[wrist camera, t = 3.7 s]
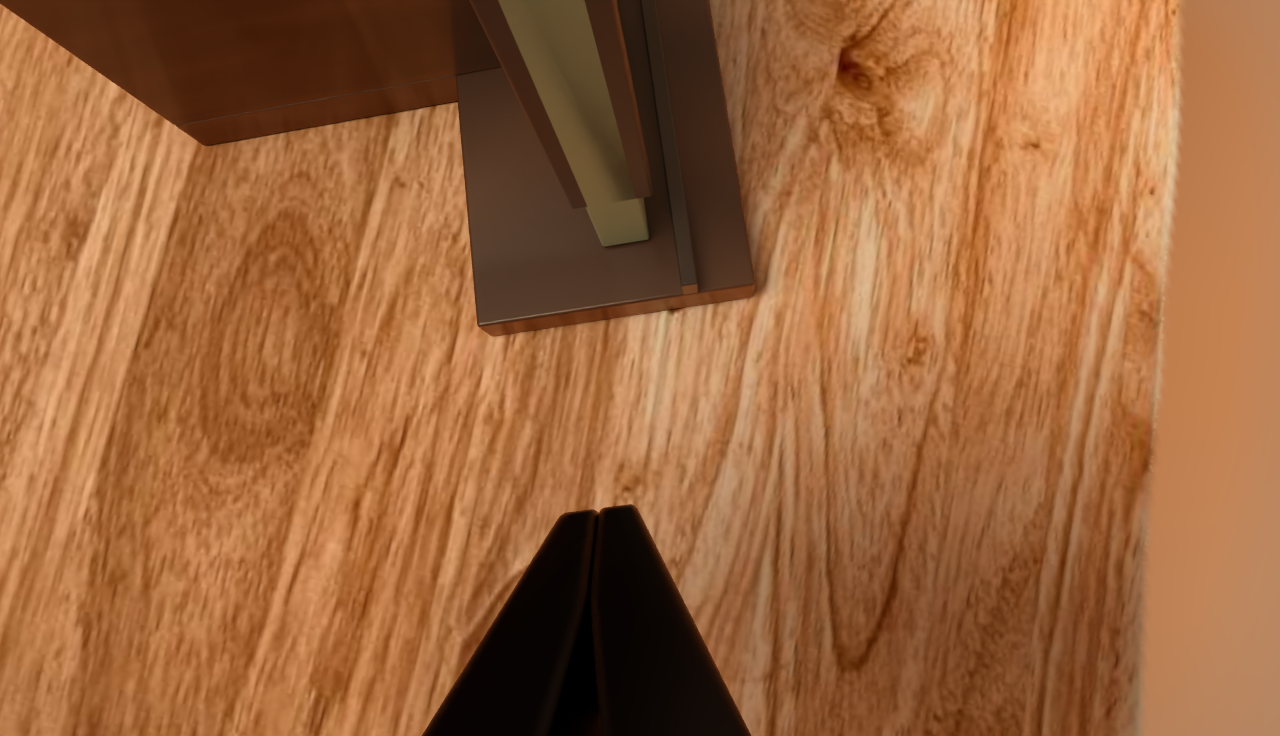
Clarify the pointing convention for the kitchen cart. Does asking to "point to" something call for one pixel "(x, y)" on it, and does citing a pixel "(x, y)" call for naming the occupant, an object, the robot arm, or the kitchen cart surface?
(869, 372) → the kitchen cart surface
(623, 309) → the cabinet
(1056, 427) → the kitchen cart surface
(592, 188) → the door
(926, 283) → the kitchen cart surface
